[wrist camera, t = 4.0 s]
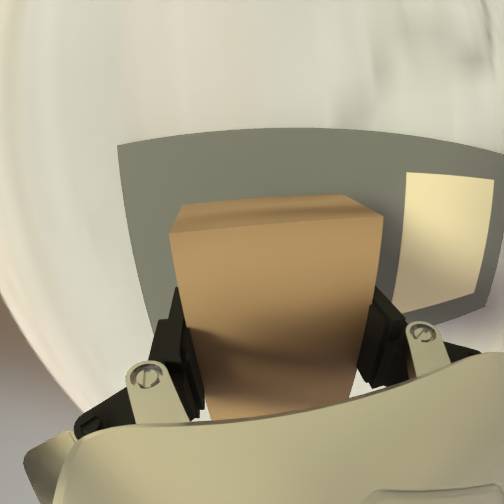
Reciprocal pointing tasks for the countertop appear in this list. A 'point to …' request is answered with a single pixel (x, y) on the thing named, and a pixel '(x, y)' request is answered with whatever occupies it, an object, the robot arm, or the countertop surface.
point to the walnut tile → (276, 298)
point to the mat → (332, 182)
